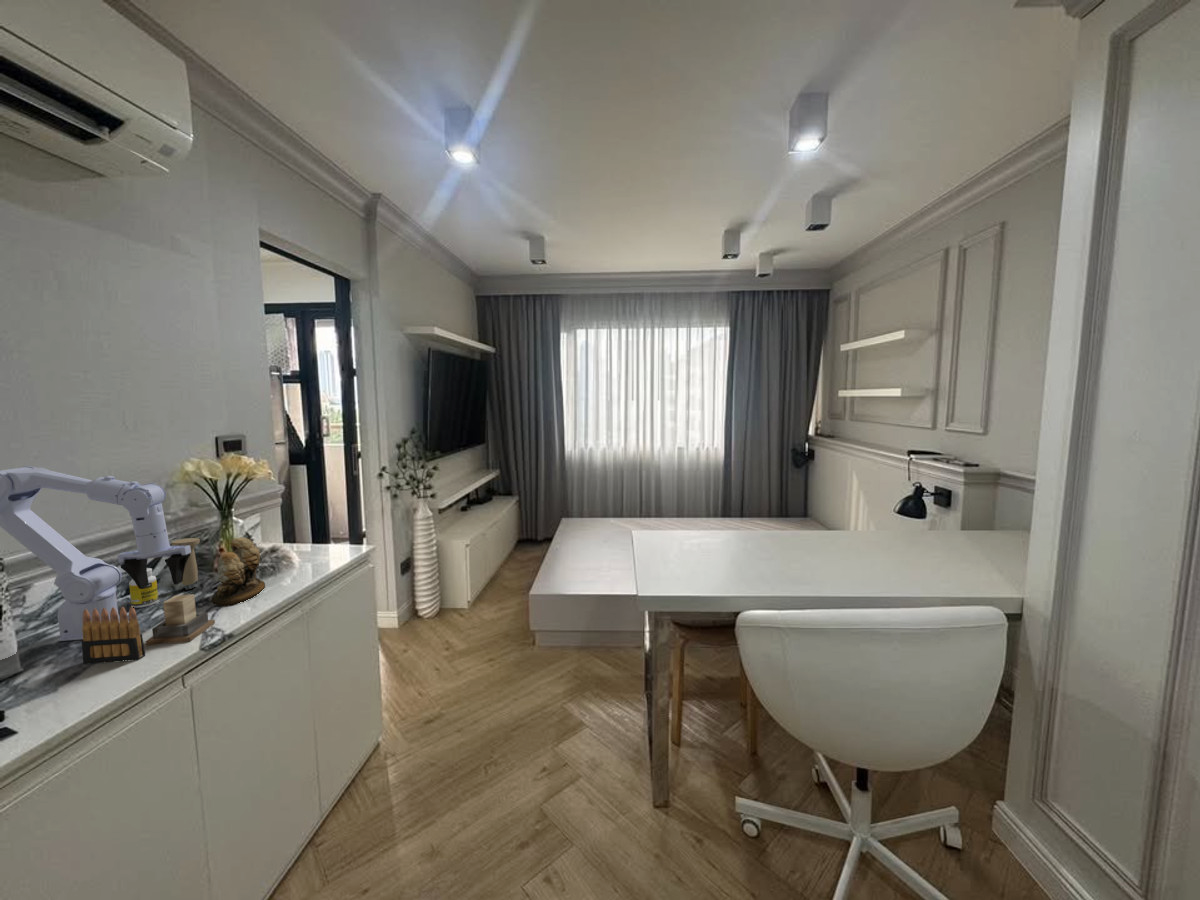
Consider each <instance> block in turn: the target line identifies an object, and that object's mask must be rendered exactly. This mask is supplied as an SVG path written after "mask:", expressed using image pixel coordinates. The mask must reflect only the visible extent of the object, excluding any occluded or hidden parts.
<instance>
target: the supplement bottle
mask: <svg viewBox="0 0 1200 900" xmlns="http://www.w3.org/2000/svg"><path fill="white" fill-rule="evenodd" d="M152 574H153V568H150V567H147V576H148V586H146V587H144V588H142V589H139V588H138V586H137V585H136V583H135V581H134V580H133V579H132V578H131V580H129V582H128V586H129V596H130V607H131V606H132V607H134V609H139V608H145V607H149V606H152V605H154V604H156V603H158V602H159V592H158V582H157V577H156V576H155V575H152Z"/></svg>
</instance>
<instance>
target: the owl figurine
mask: <svg viewBox="0 0 1200 900" xmlns="http://www.w3.org/2000/svg"><path fill="white" fill-rule="evenodd" d="M230 548H231V550H232V552H230V551H227V552H223V553H221V554H220V555H219V559H218V564H217V567H216V570H217V575H218V577H217V578H218V579H217V580H218V581H219V583H221V584H219V585H218V586H217V587H216V588H217V589H216V591H215V593H214V594H213V595H212V596H211V600H210V602H211V604H212V606H217V607H228V605H230V606H234V604H235V605H238V604H237V603H240V602H243V603H245V602H244V601H246V600H248V599H251V598H253V597H254V596H256V595H257V594H259V593H260V592H261V591H262V590H263V589H264V588H265V589H266V583H265V581H264V580H261V579H260V578H257V577H256V575H257V571H258V570H257V569H258V567H259V565H260V561H261V555H260V554H261V553H260V549H258V547H256V546H255V543H254V542H253V541H252V540H251V539H249V538H246V537H235V538H233V539H232V540H231V542H230ZM265 589H264V590H265ZM264 590H263V591H264ZM259 595H260V594H259ZM256 597H257V596H256ZM254 598H255V597H254ZM254 598H253V599H254ZM251 600H252V599H251ZM248 601H249V600H248ZM246 602H247V601H246ZM240 604H241V603H240Z"/></svg>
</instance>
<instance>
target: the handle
mask: <svg viewBox="0 0 1200 900" xmlns="http://www.w3.org/2000/svg"><path fill="white" fill-rule="evenodd" d="M200 541H201V540H200V538H199V537H198V538H197V537H191V538H190V537H189V538H187V537H185V538H180V539H175V540H173V541H171V546H187V545H190V548H191V553H190V556H189V558H188V560H187V563H186V565H185V569H184V574H183V581H182V582H181V585H182V586H183V585H190V584H193V583H195V582H196V581H197V582H198V581H199V580H198V578H199V577H198V576H199V572H198V571H199V570H198V564H197V560H196V553H195V547H196V546H197V545H199V544H200Z"/></svg>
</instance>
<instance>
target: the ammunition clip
mask: <svg viewBox="0 0 1200 900" xmlns="http://www.w3.org/2000/svg"><path fill="white" fill-rule="evenodd" d="M118 615H119V619H118ZM119 621H120V623H119ZM128 621H129V622H128ZM82 632H83V639H82V641H81V650H82V652H81V653H82V663H90V664H91V665H92V664H100V663H101V664H103V663H104V662H106V663H115V662H114V661H120V662H129V661H128V660H134V661H139V660H141V659H143V658H144V657H146V652H145V646H144V645H145V644H144V640H143V639H144V638H143V634H142V633H141V631H140V623H139V621H138V617H137V612H136V608H133V607H132V606H131V605H130V608H129V611H128V614H127V610H126V609H125V607H124V606H121V608H120V610H119V613H118V614H117V611H116V609H115V608H114V607H113V608H112V609H111V613H110V620H109V615H108V612H107V610H106V609H105V608H103V609H102V612H101V620H100V616H99V613H98V611H97V609H95V608H94V609H93V612H92V621H91V617H90V614H89V612H88V610H87V609H85V610H84V612H83V628H82ZM123 660H124V661H123ZM125 660H127V661H125ZM104 664H105V663H104Z"/></svg>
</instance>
